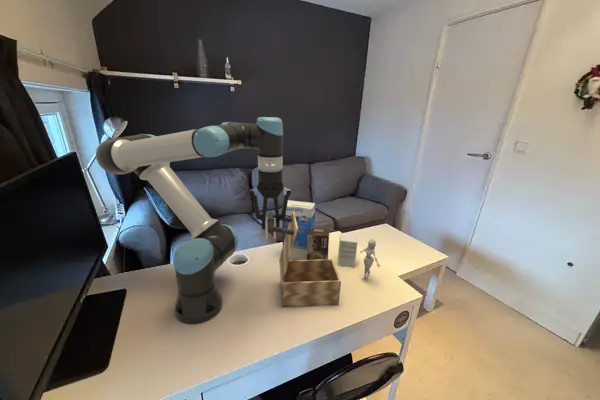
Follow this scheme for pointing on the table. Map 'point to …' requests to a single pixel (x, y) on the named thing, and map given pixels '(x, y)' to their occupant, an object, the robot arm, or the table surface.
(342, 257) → the supplement box
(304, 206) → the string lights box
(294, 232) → the lid
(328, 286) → the wooden box
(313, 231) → the coffee box
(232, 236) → the robot arm
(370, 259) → the human figurine
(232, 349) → the table surface
